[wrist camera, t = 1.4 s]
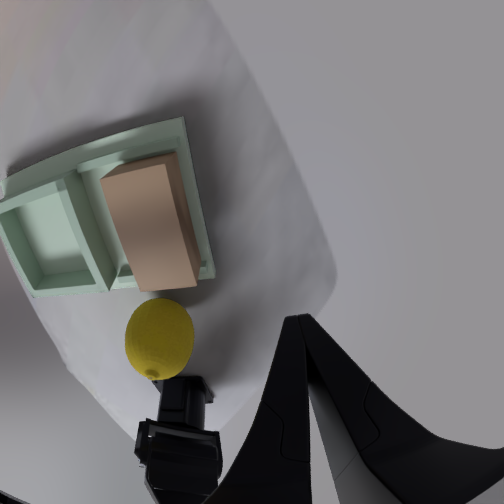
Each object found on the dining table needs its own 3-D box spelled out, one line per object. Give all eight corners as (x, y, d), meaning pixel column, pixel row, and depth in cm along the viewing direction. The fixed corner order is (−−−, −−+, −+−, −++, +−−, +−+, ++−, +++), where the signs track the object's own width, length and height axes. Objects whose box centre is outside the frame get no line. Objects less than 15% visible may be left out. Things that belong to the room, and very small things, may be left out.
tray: (215, 270, 22) (213, 297, 20) (54, 288, 23) (40, 309, 20) (183, 116, 16) (173, 121, 13) (6, 177, 16) (-17, 192, 14)
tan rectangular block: (201, 259, 20) (197, 286, 18) (150, 266, 20) (140, 291, 18) (176, 151, 16) (164, 163, 13) (118, 164, 16) (99, 179, 14)
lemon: (182, 272, 22) (165, 350, 16) (207, 318, 25) (202, 393, 19) (127, 287, 23) (99, 359, 16) (156, 328, 26) (140, 398, 19)
